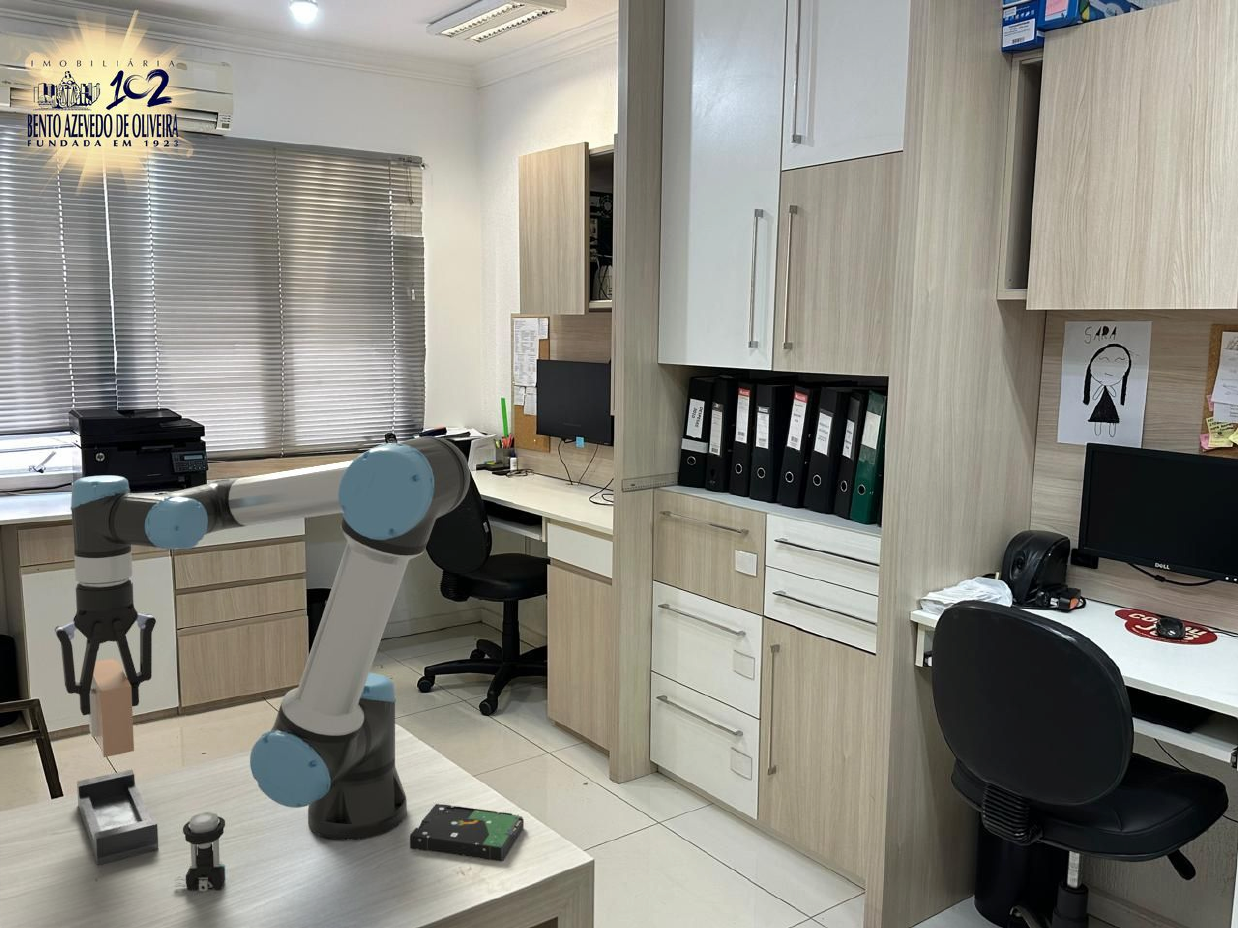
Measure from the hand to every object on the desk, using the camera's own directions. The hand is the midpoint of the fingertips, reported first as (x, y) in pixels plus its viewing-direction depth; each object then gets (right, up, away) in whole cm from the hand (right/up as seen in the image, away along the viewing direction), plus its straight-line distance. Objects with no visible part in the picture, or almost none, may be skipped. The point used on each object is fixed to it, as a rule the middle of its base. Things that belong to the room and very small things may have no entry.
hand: (111, 729), depth 148 cm
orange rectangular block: (0, -1, 0) cm, 1 cm away
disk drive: (+54, -18, +2) cm, 57 cm away
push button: (+19, -18, -13) cm, 30 cm away
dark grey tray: (0, -15, +2) cm, 16 cm away
